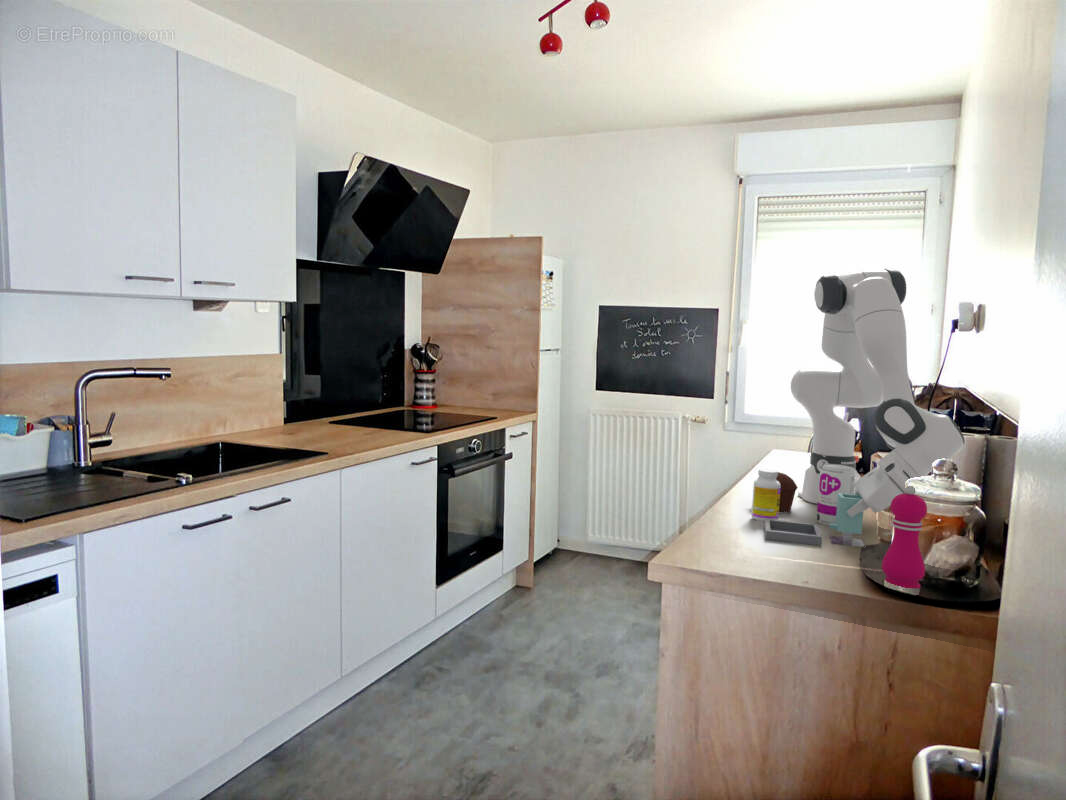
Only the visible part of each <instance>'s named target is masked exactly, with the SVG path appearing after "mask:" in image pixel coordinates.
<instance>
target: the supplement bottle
mask: <svg viewBox="0 0 1066 800" xmlns="http://www.w3.org/2000/svg"><path fill="white" fill-rule="evenodd" d="M778 472H779V471H778V470H776V469H769V468H759V469H758V478H759V479H758V478H756V479H755V480H754V482H753V490H752V501H751V502H752V503H751V504H752V505H751V518H752V520H754V519H755V520H754V521H760V522H765V519H771V520H779V515H780V513H779V503H780V489H781V485H780V483H779V482H778V481H777V480H776V477H777V476H778Z"/></svg>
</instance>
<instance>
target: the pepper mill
mask: <svg viewBox="0 0 1066 800" xmlns="http://www.w3.org/2000/svg"><path fill="white" fill-rule="evenodd" d="M916 491H917V489H916V490H915V488H914V487H913V486H907V487H906V488H905V492H906V493H904V494H899V495H897V496H896V497H894V499H893V500H892V502H891V505H890V511H891V513H892V515H893V516H894V517H893V518H892V523H891V526H892V527H893V537H892V541H891V543H890V546H889V547H888V549H887V551H886V552H885V554H884V556H883V558H882V561H881V562H882V563H881V569H882V572H883V573H884V574H885V576H886V577H884V578H885V580H886V581H887V582H889V583H891V584H894V585H897V586H901V587H905V588H915V589H916V588H920V587H922V585H921V583H919V581H921V580H922V579H923V578H924V577H925V575H926V566H925V565H926V564H925V560H924V558H923V555H922V553H921V549H920V545H919V544H920V543H919V536H920V531H922V530H923V526H922V525H924V524H923V523H924V522H923V521H922V520H923V519H924V518H925V517H926V515H927V512H928V506H927V503H926V501H925V499H923V498H922V497H921V496H919V495H917V494H916Z"/></svg>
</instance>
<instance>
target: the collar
mask: <svg viewBox="0 0 1066 800" xmlns="http://www.w3.org/2000/svg"><path fill="white" fill-rule="evenodd" d="M861 499H862V497H861V496H860V495H855V494H844V493H838V499H837V512H836V524H832V523H830V524H829V525H828V526H829V527H828V528H829V530H835V531H837V532H838V533H842V532H844V533H853V535H854V534H855V535H862V531H863V520H864V511H862V512H860V513H858V514H856V515H855V516H854V517H851V516H850V515H849V514H848V513H847V511H846V510H847V509H848V508H849V507H851V506H853V505H855V504H856V503H858V501H860V500H861Z"/></svg>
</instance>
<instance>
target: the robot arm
mask: <svg viewBox="0 0 1066 800" xmlns="http://www.w3.org/2000/svg"><path fill="white" fill-rule="evenodd" d="M813 294H814V301H815V306H816V307H817V309H818V310H819V311H820V312H821V313H824V318H823V328H822V336H821V337H822V339H821V349H822V352H823V353H824V355H825V356H827V358H829V359H831V360H832V361H834V362H836V363H838V364H839V365H841V366H842V367H840V368H834V367H815V366H814V367H807V368H800V369H798V371H796V372H795V373H794V375H793V376H792V378H791V381H790V390H791V395H792V397H793V398H794V399H795V400H796V401H797V402H798V403H800V404H801V406H803V408H804V409H805V410H806V411H807V413H808V415H809V417H810V420H811V422H812V430H813V431H812V432H813V445H812V451H811V452H810V456H809V461H810V462H809V463H810V466H809V467H808V468H807V469H806V470H805V471H804V472H805V473H804V478H803V484H802V491H799V492H798V493H797V497H800V498H802V499H803V500H804V501H806V502H809V503H813V504H816V505H817V502H818V490H819V477H820V470H821V468H822V467H823V465H824V464H838V465H846V466H850V467H852V468H853V470H854V473H855V483H854V493H853V494H855V495H860V496H861V497H862V499H861V500H860V501H858V503H856V504H855V505H853V506H851V507H849V508H848V509H847V510H846V511H847V513H848V514H849V515H850V516H851V517H854V516H855V515H856V514H858V513H860V512H862V511H863V512H864V511H866V510H868V509H869V508H870V509H871V511H873V513H875V514H876V513H879V512H882V511H884V510H885V509H887V508H889V507H891V502H892V500H893V499H894V497H896V496H897V495H899V494H905V493H906V492H905V482H906V481H907V480H908V479H910V478H914V477H921V476H926V477H928V475H929V474H930V473H931V472H933V471H932V469H931V466H932V463H933V462H934V461H935V460H937V459H942V458H945V459H949V461H950V460H951V459H952V458H954V457H955V456H956V455H958V453H959V452H960V451H961V450H962V449H963V448H964V445H965V437H964V433H962V431H961V429H960V427H959V426H958V424H957V423H956V422H955V421H954V420H953V419H952V418H951V417H950V416H949V415H947V414H941V413H939V414H938V413H935V412H932V411H929V410H926V409H924V408H921V407H920V406H918V405H916V403H915V398H914V394H913V391H912V386H911V385H912V384H911V381H910V377H909V371H908V370H909V369H908V355H907V354H908V353H907V352H908V350H907V347H908V346H907V330H906V329H907V327H906V321H905V316H904V312H903V311H904V310H903V307H902V304H903V302H904V301H905V298H906V296H907V281H906V278H905V276H904V275H903V274H902V272H901V271H900V270H897V269H891V268H890V269H889V268H884V269H859V270H852V271H845V272H839V273H836V272H835V273H834V272H833V273H828V274H825V275H822V276H821V277H820V278H819V279H818V280H817V282H816V285H815V288H814V293H813ZM837 407H841V408H856V409H864V408H865V409H866V408H874V407H875V408H876V407H877V409H876V410H875V413H874V416H873V419H874V420H873V421H874V424H875V427H876V430H877V431H878V432H879V434H880V436H881V437H882V438H883V439H884V443H885V444H886V446H887V447H888V448H889V449H890V450H891V451H890V452H889V453H887V454H885V456H883V457H882V458H881V459H880V460H878V461H877V462H876V463H877V465H878V466H876V467H875V468H873V469H872V470H870V471H868V472H867V473H866V474H864V475H863V476H862V477H861V475H860V474H859V473H858V471H857V469H856V468H857V465H856V463H858V462H859V461H860V457H859V455H855V453H854V452H855V443H856V430H855V427H854V426H853V425H852V423H850V422H848V421H846V420H845V419H844V418H842V417H840V416H838V415H836V414H835V412H834V408H837Z"/></svg>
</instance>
